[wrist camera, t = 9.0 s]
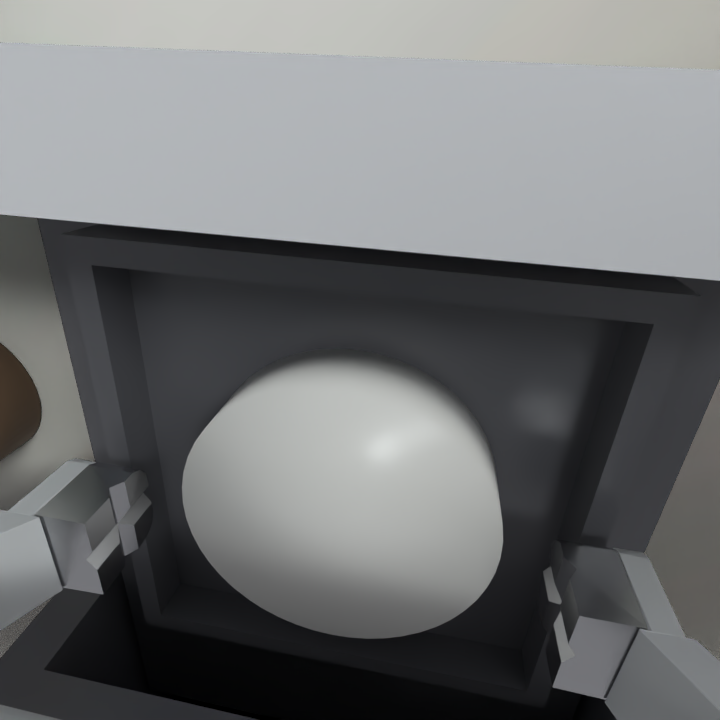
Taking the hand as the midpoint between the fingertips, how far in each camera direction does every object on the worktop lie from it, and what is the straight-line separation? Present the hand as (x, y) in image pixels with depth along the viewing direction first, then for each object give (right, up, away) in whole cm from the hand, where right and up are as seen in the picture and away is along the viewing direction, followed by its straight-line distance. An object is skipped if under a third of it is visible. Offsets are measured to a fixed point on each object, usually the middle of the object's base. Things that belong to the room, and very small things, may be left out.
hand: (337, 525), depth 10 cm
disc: (0, +1, +1) cm, 2 cm away
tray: (0, 0, +3) cm, 3 cm away
